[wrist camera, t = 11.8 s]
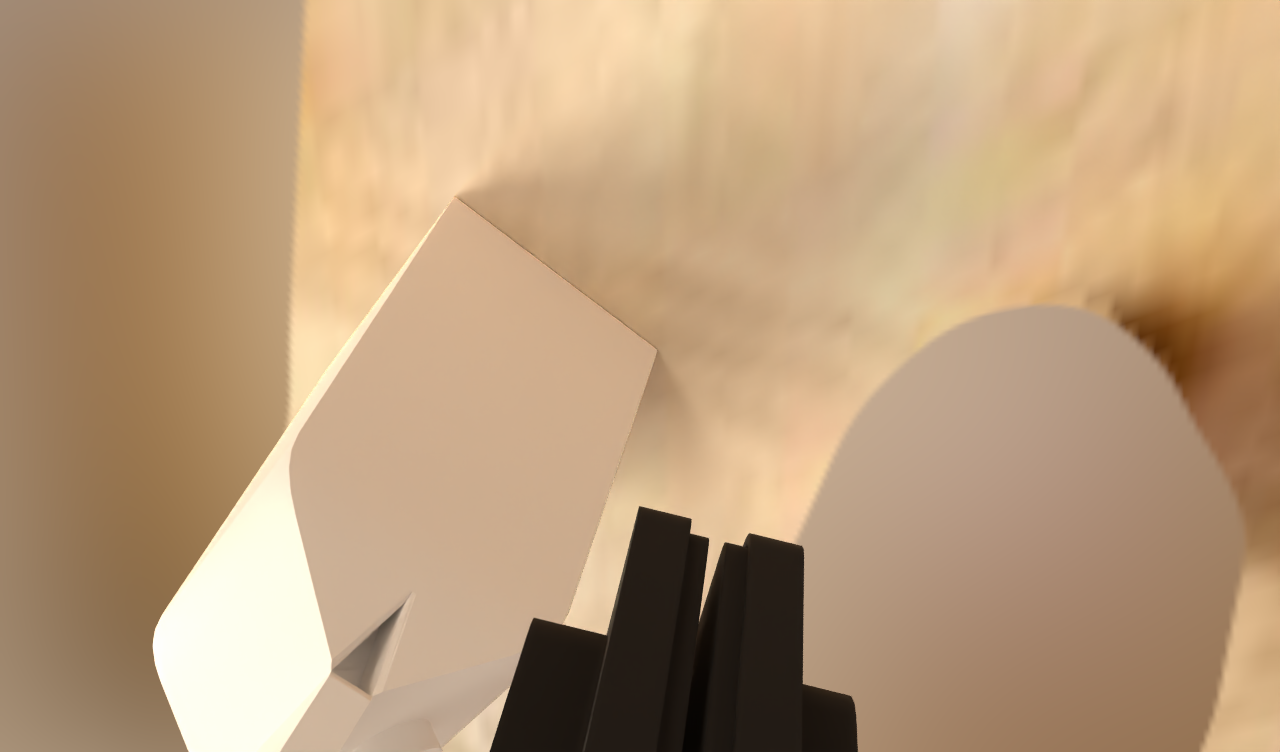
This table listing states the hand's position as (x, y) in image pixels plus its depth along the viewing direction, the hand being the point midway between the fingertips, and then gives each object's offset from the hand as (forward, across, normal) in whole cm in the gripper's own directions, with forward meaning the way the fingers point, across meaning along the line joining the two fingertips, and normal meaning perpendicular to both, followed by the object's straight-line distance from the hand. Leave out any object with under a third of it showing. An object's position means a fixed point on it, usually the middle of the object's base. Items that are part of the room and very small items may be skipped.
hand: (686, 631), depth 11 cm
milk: (+35, +9, +20) cm, 42 cm away
